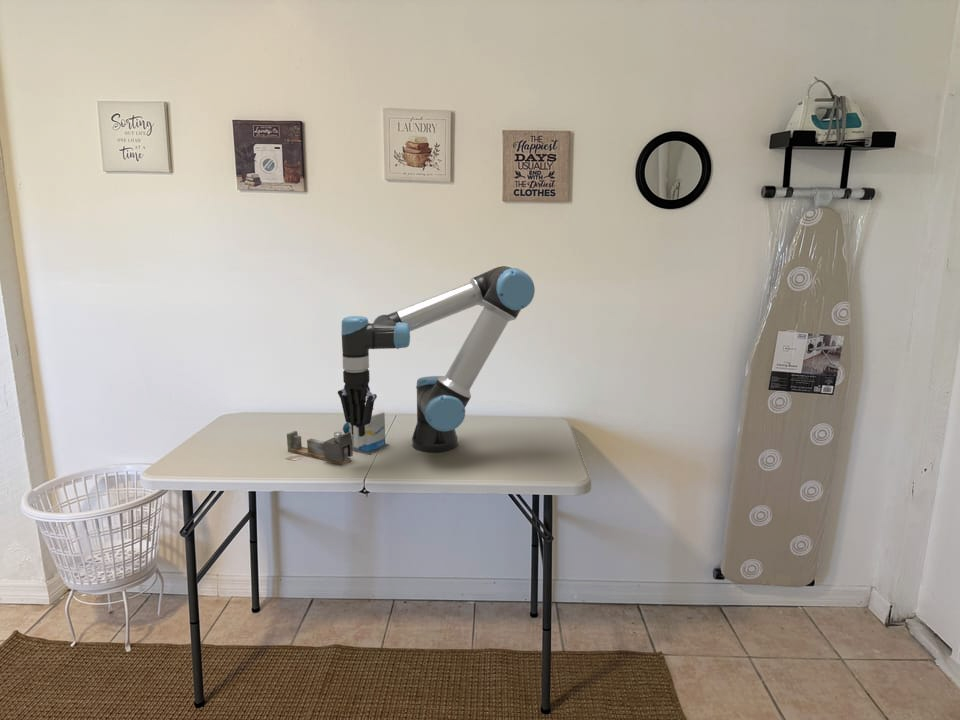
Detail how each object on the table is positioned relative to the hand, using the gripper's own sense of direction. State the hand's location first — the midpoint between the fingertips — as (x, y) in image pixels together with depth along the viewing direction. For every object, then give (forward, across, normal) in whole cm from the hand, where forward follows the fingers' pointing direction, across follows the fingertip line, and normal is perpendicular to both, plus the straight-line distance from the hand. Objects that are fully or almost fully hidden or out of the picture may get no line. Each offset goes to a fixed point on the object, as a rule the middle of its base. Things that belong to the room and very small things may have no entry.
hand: (358, 445), depth 184 cm
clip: (+5, +8, 0) cm, 10 cm away
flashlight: (+7, +23, -29) cm, 38 cm away
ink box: (+6, +8, -14) cm, 17 cm away
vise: (+7, +16, +2) cm, 18 cm away
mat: (+7, +8, -14) cm, 17 cm away
